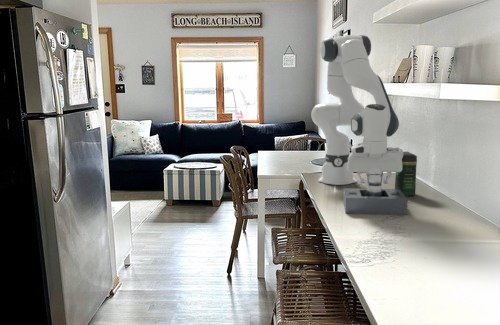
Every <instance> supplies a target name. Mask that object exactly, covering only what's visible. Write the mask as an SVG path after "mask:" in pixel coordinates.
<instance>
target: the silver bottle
mask: <svg viewBox="0 0 500 325" xmlns="http://www.w3.org/2000/svg"><path fill="white" fill-rule="evenodd" d="M383 176H384V172H381V170H380V169H379V168H377V167H374V168H372V169H371V170H370V171H369V172H365V177H366V189H367V194H366V197H382V191H381V189H382V183H383Z"/></svg>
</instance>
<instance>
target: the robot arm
mask: <svg viewBox="0 0 500 325" xmlns="http://www.w3.org/2000/svg"><path fill="white" fill-rule="evenodd" d="M319 52H320V56H321V59H322V60H323V61H325V62H328V64H327V76H326V77H327V81H326V82H327V83H326V87H327V88H326V89H327V92H328V93H329V94H330V95H332V96H333V97H336V98H338V99H339V102H328V103H327V102H325V103H324V102H323V103H320V104H315V105H314V106H313V108H312V110H311V114H310V117H311V120H312V122H313V123H314V124H315V125H316V126H317V127H318V128H320V130H321V131H322V133H323V135H324V137H325V144H326V145H325V146H326V148H325V150H326V154H325V157H324V158H325V160H324V161H325V162H324V163H323V165H322V167H321V176H320V177H319V178H318V183H324V184H326V185H327V184H328V185H332V186H333V185H335V186H336V185H337V186H338V185H339V186H340V185H341V186H343V185H349V184H355V183H357V182H358V180H357V179H356V178H355V177H354V173H357V176H358V177H359V183H360V184H365V181H366V180H365V177H362V173H366V172H369V171H370V170H371V169H372V168H374V167H377V168H379V169H380V170H381V172H383V173H386V174H387V175H386V177H384V178H383V180H382V183H383V184H389V179H390V178H391V177H392V173H396V172H401V171H402V158H403V152H404V150H403V149H402V148H400V147H388V137H392V136H393V135H394V134H395V133H396V132H397V131H398V130H399V127H400V121H399V118H398V115H397V113H396V112H395V111H394V108H393V106H392V103H391V101H390V98H389V95H388V93H387V89H386V87H385V84H384V83H383V80H382V78H381V77H380V76H379V75H378V74H376V73H375V71H374V70H373V68H372V67H371V65H370V61H369V56H370V54H371V52H372V41H371V39H370V38H369V36H367V35H363V34H359V35H353V34H347V35H341V36H333V37H332V36H331V37H327V38H324V39H323V40H322V41H321V45H320V51H319ZM352 87H354V88H358V89H360V90H363V91H366V92H368V93H370V95H371V96H372V97H373V98H374V101H375V103H370V104H367V105H365V107H364V106H363V104H362V103H360V102H359V101H358V100H357V99H356V97H355V95H354V92H353V90H352ZM338 126H339V127H343V126H344V127H346V126H348V127H349V126H350V130H351V132H352V133H353V134H354V135H355V136H356V137H363V138H362V142H361V143H357V144H354V145H352V146H351V147H350V137H349V136H348V135H347V134H345V133H343V132H341V131H339V130H338V128H337V127H338ZM350 151H351V152H350Z"/></svg>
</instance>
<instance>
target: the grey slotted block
mask: <svg viewBox="0 0 500 325" xmlns="http://www.w3.org/2000/svg"><path fill="white" fill-rule="evenodd" d="M381 191H382V197H366V194H367V188H354V187H353V188H349V187H346V188H345V187H344V188H343V201H342V202H343V207H344V212H345V214H355V215H357V214H361V215H362V214H363V215H399V216H400V215H403V216H404V215H407V214H408V212H407V211H408V198H407V196H405V195H404V194H403V193H402V191H401V190H400V189H395V188H381Z"/></svg>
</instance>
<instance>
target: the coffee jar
mask: <svg viewBox="0 0 500 325" xmlns="http://www.w3.org/2000/svg"><path fill="white" fill-rule="evenodd" d="M417 163H418V156H417V155H415V154H414V153H411V152H410V151H403V158H402V171H401V172H395V178H394V189H400V190H401V191H402V193H403V194H404V195H405V197H412V196H415V195H416V186H417V185H416V184H417V181H416V180H417V166H418V165H417Z"/></svg>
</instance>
